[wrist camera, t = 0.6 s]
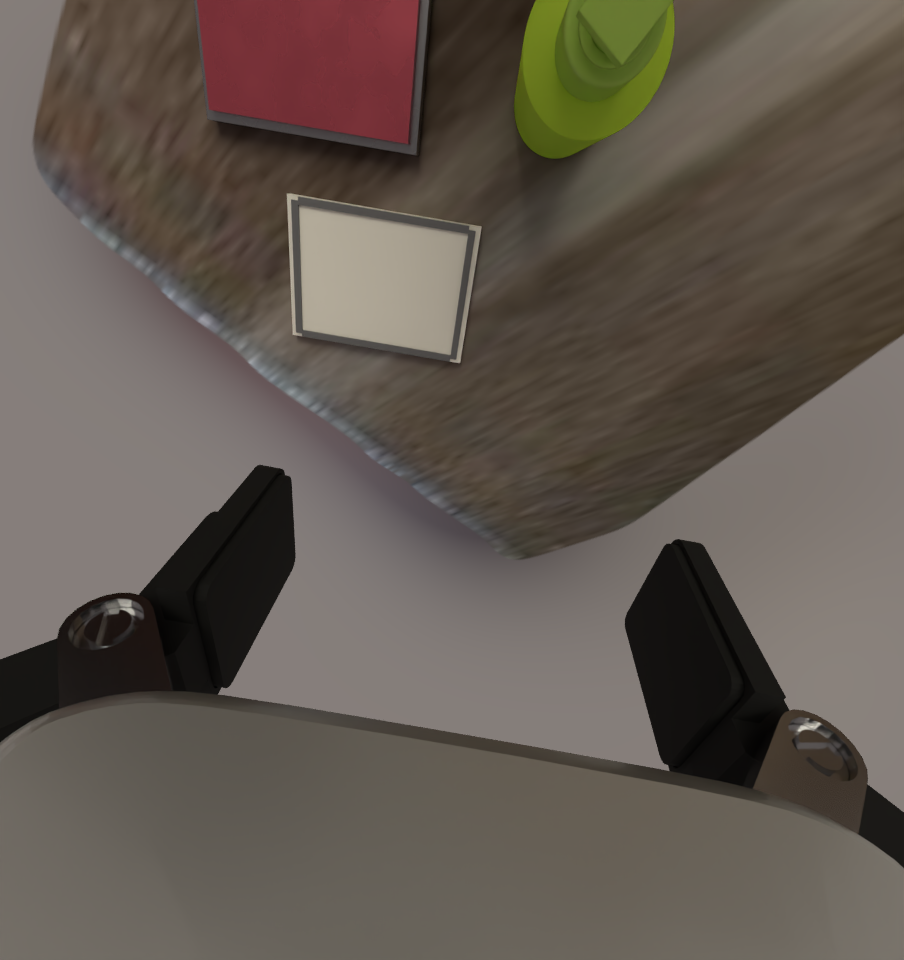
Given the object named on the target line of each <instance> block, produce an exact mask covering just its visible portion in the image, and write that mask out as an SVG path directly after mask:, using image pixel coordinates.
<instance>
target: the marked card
mask: <svg viewBox="0 0 904 960" xmlns="http://www.w3.org/2000/svg"><path fill="white" fill-rule="evenodd" d="M287 206H288V230H289V254H290V278H291V302H292V326H293V335H297V336H302V337H308V338H314V339H320V340H326V341H331V342H337V343H343V344H349V345H355V346H361V347H366V348H372V349H378V350H384V351H390V352H396V353H401V354H407V355H413V356H419V357H425V358H431V359H436V360H442V361H448V362H455V363H460V361H461V355H462V349H463V342H464V336H465V330H466V323H467V317H468V311H469V304H470V298H471V292H472V285H473V279H474V273H475V266H476V260H477V254H478V247H479V241H480V235H481V228H482V226H477V225H471V224H465V223H459V222H453V221H448V220H442V219H436V218H430V217H424V216H418V215H413V214H407V213H401V212H395V211H389V210H384V209H378V208H372V207H366V206H360V205H355V204H349V203H343V202H337V201H331V200H325V199H320V198H314V197H308V196H302V195H296V194H287Z"/></svg>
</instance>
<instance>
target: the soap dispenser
mask: <svg viewBox="0 0 904 960" xmlns="http://www.w3.org/2000/svg"><path fill="white" fill-rule="evenodd" d="M673 1H674V0H536V1H535V3H534V5H533V8H532V10H531V13H530V16H529V19H528V22H527V26H526V30H525V35H524V40H523V47H522V53H521V60H520V66H519V73H518V79H517V86H516V92H515V99H514V115H515V121H516V125H517V129H518V131H519V134H520V136H521V138H522V139H523V141H524V142H525V144H526V145H527V146H528V147H529V148H530V149H531V150H532V151H533V152H535V153H536V154H538V155H540V156H543V157H546V158H552V159H558V158H564V157H568V156H570V155H573V154H575V153H577V152H579V151H581V150H583V149H585V148H587V147H589V146H590V145H592V144H594V143H596V142H598V141H600V140H602V139H604V138H606V137H608V136H610V135H612V134H614V133H616V132H618V131H620V130H621V129H623V128H624V127H626V126H627V125H628V124H629V123H631V122H632V121H633V120H634V119H635V118H636V117H637V116H638V115H639V114H640V113H641V112H642V111H643V110H644V108H645V107H646V106H647V105H648V103H649V102H650V101H651V99H652V98H653V96H654V94H655V93H656V91H657V89H658V87H659V86H660V84H661V81H662V79H663V77H664V75H665V72H666V69H667V66H668V63H669V60H670V56H671V52H672V47H673V40H674V27H675V20H674V8H673Z"/></svg>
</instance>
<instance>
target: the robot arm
mask: <svg viewBox="0 0 904 960" xmlns="http://www.w3.org/2000/svg"><path fill="white" fill-rule="evenodd" d="M294 562H295V538H294V520H293V501H292V484H291V478H290V477H289V476H286V475H285V473H284V470H283V469H280V468H274V467H269V466H263V465H258V466H257V467H255V468H254V470H253V471H252V472H251V473H250V474H249V476H248V477H247V478H246V479H245V480H244V482H243V483H242V484H241V485H240V486H239V488H238V489H237V490H236V491H235V492H234V494H233V495H232V496H231V497H230V498H229V499H228V500H227V502H226V503H225V504H224V505H223V507H222V508H221V509H220V510H219V511H218V512H212V513H210V514H209V515H208V516H207V517H206V518H205V519H204V520H203V521H202V522H201V523H200V524H199V526H198V527H197V528H196V529H195V530H194V532H193V533H192V534H191V535H190V536H189V537H188V538H187V540H186V541H185V542H184V543H183V544H182V545H181V546H180V548H179V549H178V550H177V551H176V552H175V553H174V555H173V556H172V557H171V558H170V559H169V560H168V562H167V563H166V564H165V565H164V566H163V567H162V568H161V570H160V571H159V572H158V573H157V574H156V575H155V577H154V578H153V579H152V580H151V581H150V583H149V584H148V585H147V586H146V587H145V588H144V589H143V590H142V592H141V593H140V594H139V595H137V594H133V593H115V594H110V595H105V596H102V597H99V598H96V599H94V600H91V601H89V602H87V603H86V604H84V605H82V606H81V607H79V608H77V609H76V610H75V611H74V612H73V613H72V614H70V615H69V616H68V617H67V618H66V619H65V621H64V622H63V624H62V625H61V627H60V628H59V632H58V636H57V639H55V640H52V641H49V642H46V643H44V644H41V645H38V646H35V647H33V648H30V649H27V650H25V651H22V652H19V653H17V654H14V655H11V656H9V657H6V658H3V659H0V960H904V812H902V811H901V810H900V809H899V808H897V807H896V806H895V805H893V804H892V803H891V802H889V801H888V800H887V799H886V798H884V797H883V796H882V795H880V794H879V793H878V792H877V791H875V790H874V789H873V788H871V787H870V786H869V785H868V784H867V783H868V774H867V768H866V765H865V763H864V761H863V758H862V756H861V755H860V753H859V752H858V751H857V749H856V748H855V746H854V745H853V744H852V743H851V741H850V740H849V739H847V737H846V736H845V735H844V734H843V733H842V732H841V731H839V730H838V729H837V728H836V727H834V726H833V725H832V724H831V723H829V722H828V721H826V720H824V719H822V718H821V717H819V716H817V715H815V714H812V713H809V712H806V711H803V710H790V711H789V709H788V707H787V705H786V703H785V701H784V699H785V698H786V697H785V695H784V693H783V691H782V689H781V688H780V686H779V684H778V682H777V680H776V678H775V677H774V675H773V673H772V671H771V669H770V667H769V665H768V663H767V662H766V660H765V658H764V656H763V654H762V652H761V651H760V649H759V647H758V645H757V643H756V641H755V639H754V638H753V636H752V634H751V632H750V630H749V629H748V627H747V625H746V623H745V621H744V619H743V617H742V615H741V614H740V612H739V610H738V608H737V606H736V604H735V602H734V601H733V599H732V597H731V595H730V593H729V591H728V590H727V588H726V586H725V584H724V582H723V580H722V578H721V577H720V575H719V573H718V571H717V569H716V567H715V566H714V564H713V562H712V560H711V558H710V556H709V554H708V553H707V551H706V549H705V547H704V546H703V545H702V544H700V543H696V542H691V541H685V540H679V539H677V540H674V541H673V542H672V543H671V544H666V545H665V546H664V548H663V549H662V551H661V553H660V555H659V556H658V558H657V560H656V562H655V564H654V565H653V567H652V569H651V571H650V573H649V574H648V576H647V578H646V580H645V582H644V583H643V585H642V587H641V589H640V591H639V593H638V594H637V596H636V598H635V600H634V602H633V604H632V605H631V607H630V609H629V611H628V612H627V615H626V618H625V629H626V633H627V636H628V640H629V643H630V647H631V651H632V654H633V658H634V662H635V666H636V669H637V673H638V677H639V681H640V684H641V688H642V692H643V695H644V699H645V703H646V707H647V710H648V714H649V718H650V721H651V725H652V728H653V732H654V736H655V740H656V744H657V747H658V751H659V755H660V757H661V760H662V761H663V763H664V764H667V765H668V766H669V770H670V771H665V770H661V769H655V768H650V767H645V766H639V765H633V764H627V763H622V762H617V761H611V760H605V759H600V758H594V757H589V756H583V755H577V754H572V753H566V752H561V751H555V750H549V749H544V748H538V747H532V746H527V745H521V744H515V743H509V742H504V741H498V740H492V739H486V738H481V737H475V736H469V735H463V734H457V733H451V732H446V731H440V730H434V729H428V728H423V727H417V726H411V725H405V724H399V723H393V722H387V721H381V720H376V719H370V718H364V717H358V716H352V715H346V714H340V713H334V712H327V711H322V710H316V709H310V708H304V707H297V706H292V705H285V704H278V703H272V702H264V701H258V700H251V699H245V698H238V697H232V696H225V695H218V693H219V691H220V689H221V687H223V688H228V687H229V686H230V685H231V683H232V682H233V680H234V678H235V676H236V674H237V672H238V671H239V669H240V667H241V665H242V663H243V661H244V659H245V657H246V655H247V654H248V652H249V650H250V648H251V646H252V644H253V642H254V640H255V639H256V636H257V635H258V633H259V631H260V629H261V627H262V625H263V623H264V621H265V620H266V618H267V616H268V614H269V612H270V610H271V608H272V606H273V605H274V603H275V601H276V599H277V597H278V595H279V593H280V592H281V590H282V588H283V586H284V584H285V582H286V580H287V578H288V576H289V575H290V572H291V571H292V569H293V566H294Z"/></svg>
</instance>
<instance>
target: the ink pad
mask: <svg viewBox="0 0 904 960" xmlns="http://www.w3.org/2000/svg"><path fill="white" fill-rule="evenodd" d="M194 4H195V13H196V22H197V31H198V40H199V49H200V58H201V66H202V75H203V84H204V93H205V102H206V111H207V119H209V120H213V121H217V122H222V123H228V124H234V125H240V126H246V127H251V128H257V129H263V130H269V131H275V132H280V133H286V134H292V135H298V136H304V137H309V138H315V139H321V140H327V141H333V142H338V143H344V144H350V145H356V146H362V147H368V148H373V149H379V150H385V151H391V152H397V153H402V154H408V155H414V156H419V149H420V137H421V126H422V114H423V103H424V91H425V80H426V68H427V57H428V45H429V33H430V22H431V10H432V0H194Z"/></svg>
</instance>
